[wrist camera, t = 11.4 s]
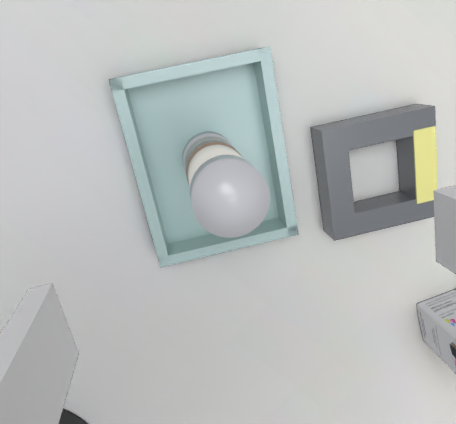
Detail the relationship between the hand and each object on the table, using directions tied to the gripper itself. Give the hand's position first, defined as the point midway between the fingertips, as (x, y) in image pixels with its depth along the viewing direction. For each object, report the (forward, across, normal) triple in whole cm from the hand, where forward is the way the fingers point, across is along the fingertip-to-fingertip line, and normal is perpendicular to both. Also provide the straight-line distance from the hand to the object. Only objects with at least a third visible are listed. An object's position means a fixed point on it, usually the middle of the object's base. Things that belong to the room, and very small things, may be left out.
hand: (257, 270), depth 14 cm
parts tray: (+20, +1, 0) cm, 20 cm away
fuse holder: (+20, +14, -4) cm, 24 cm away
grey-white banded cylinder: (+20, +1, 0) cm, 20 cm away
